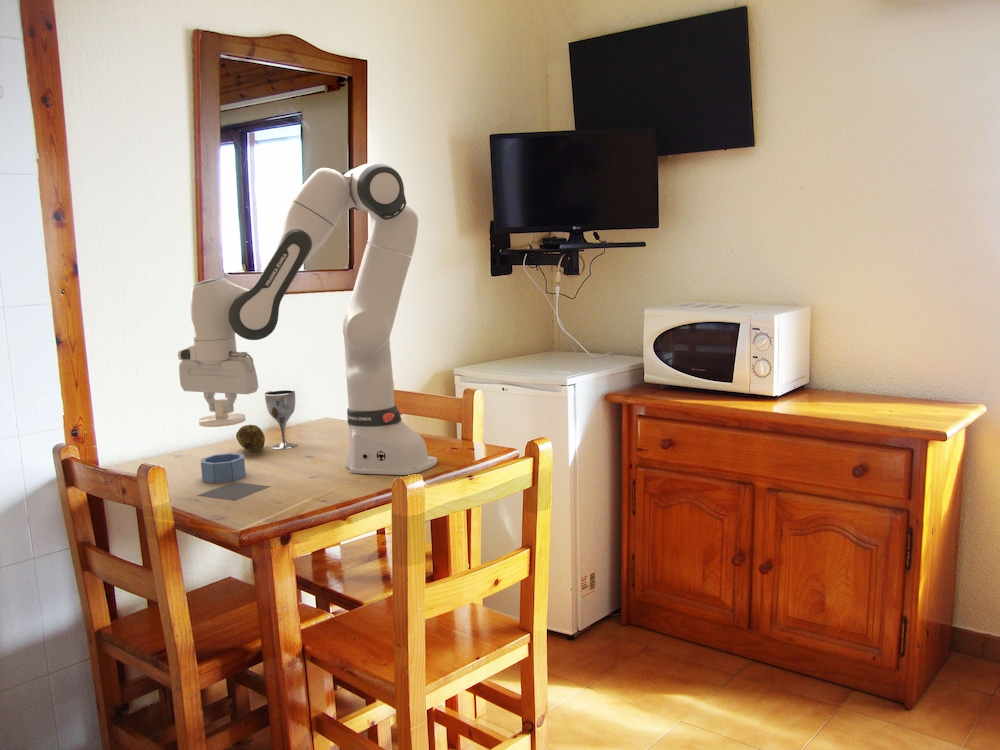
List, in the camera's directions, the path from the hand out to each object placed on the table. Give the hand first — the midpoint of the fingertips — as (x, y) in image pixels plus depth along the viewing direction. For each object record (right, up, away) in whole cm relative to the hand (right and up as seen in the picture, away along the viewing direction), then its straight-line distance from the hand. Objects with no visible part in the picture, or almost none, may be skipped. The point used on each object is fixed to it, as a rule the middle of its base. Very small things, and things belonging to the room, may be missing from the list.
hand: (221, 411), depth 188 cm
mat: (+4, -18, -4) cm, 19 cm away
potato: (-3, -12, +34) cm, 37 cm away
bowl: (-2, -16, +8) cm, 18 cm away
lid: (0, -2, 0) cm, 2 cm away
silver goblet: (+4, -11, +39) cm, 41 cm away
